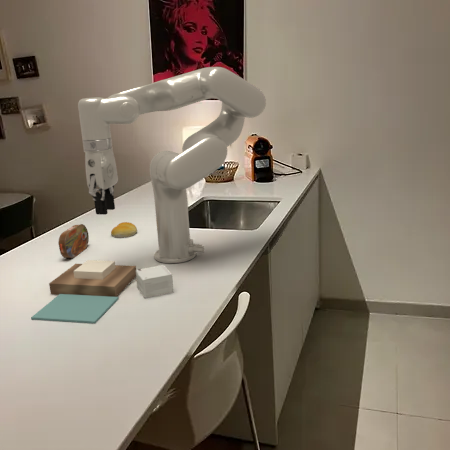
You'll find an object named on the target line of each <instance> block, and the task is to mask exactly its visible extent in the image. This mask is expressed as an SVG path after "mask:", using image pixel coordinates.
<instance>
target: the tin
mask: <svg viewBox="0 0 450 450" xmlns="http://www.w3.org/2000/svg"><path fill="white" fill-rule="evenodd" d="M88 231H89V230H88V229H87V227H86V225H85V224H82V223H80V224H74V225H72V226H71V227H69V228H67V229H66V230H64V231H63V232H62V233H61V234H60V235H59V238H58V248H59V252H60V255H61V257H63V258H65V259H74V258H76V257H78V256H79V255H80V254H81V253H82V252H84V251H85V250H86V249H87V247H88V245H89V242H90V241H89V240H90V239H89V238H90V236H89V232H88Z"/></svg>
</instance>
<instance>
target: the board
mask: <svg viewBox="0 0 450 450" xmlns="http://www.w3.org/2000/svg"><path fill="white" fill-rule="evenodd" d="M82 264H83V263H75V264H74V265H72V266H71V267H69V268H68V269H66V270H65V271H63V273H61V274H60V275H58V276H57V277H56V278H54V279H53V280H52V281H50V282H49V283H48V286H49V291H50V292H49V293H50V295H57V296H58V295H59V294H72V295H91V296H110V297H119V295H120V294H121V293H122V292H123V291H124V290H125V289H126V288H127V287H128V286H129V285H130V284H131V282H132V281H134V280H135V279H136V270H137V265H125V264H124V265H122V264H119V265H118V264H115V266H116V268H115V269H114V270H113V271H112V272H111V273H110V274H108V275H107V276H106V277H105V278H104V279H81V278H74V270H76V269H77V268H78V267H79V266H81V265H82Z"/></svg>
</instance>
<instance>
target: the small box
mask: <svg viewBox="0 0 450 450" xmlns="http://www.w3.org/2000/svg"><path fill="white" fill-rule="evenodd" d="M135 279H136V288H137V289H138V291H139V292H140V294H141V295H142V296H143V298H144V299H148V298H151V297H157V296H162V295H166V294H173V293H174V280H173V274H172V272H171V271H170V270H169V269H168V268H167V266H165V265H164V264H159V265H154V266H150V267H144V268H137V269H136V277H135Z"/></svg>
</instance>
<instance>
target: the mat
mask: <svg viewBox="0 0 450 450" xmlns="http://www.w3.org/2000/svg"><path fill="white" fill-rule="evenodd" d="M118 300H119V296H117V297H110V296H91V295H72V294H59V295H57V296H55V297H54V298H53V299H52V300H50V302H48V303H46V305H44V307H42V308H41V309H39V310H38V311H37V312H36V313H34V314H33V315H32V316H31V320H35V321H50V322H51V321H53V322H64V323H65V322H66V323H80V324H81V323H82V324H96V323H97V322H98V321H99V320H100V319H101V318H102V317H103V316H104V315H105V314H106V313H107V311H108V310H109V309H111V308H112V306H114V304H116V302H118Z"/></svg>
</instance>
